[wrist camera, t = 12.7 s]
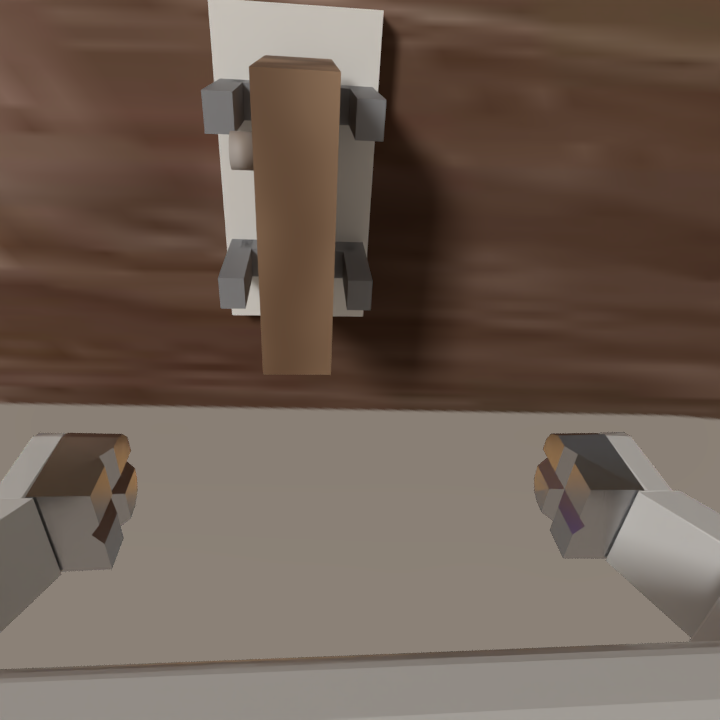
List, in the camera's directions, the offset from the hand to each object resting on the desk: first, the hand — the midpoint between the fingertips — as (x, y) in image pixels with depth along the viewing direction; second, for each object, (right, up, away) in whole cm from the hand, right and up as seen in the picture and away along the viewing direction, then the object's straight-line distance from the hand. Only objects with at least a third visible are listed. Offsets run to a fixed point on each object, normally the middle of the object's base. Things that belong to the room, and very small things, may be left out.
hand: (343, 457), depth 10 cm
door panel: (-3, +11, +17) cm, 20 cm away
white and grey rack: (-3, +12, +19) cm, 23 cm away
